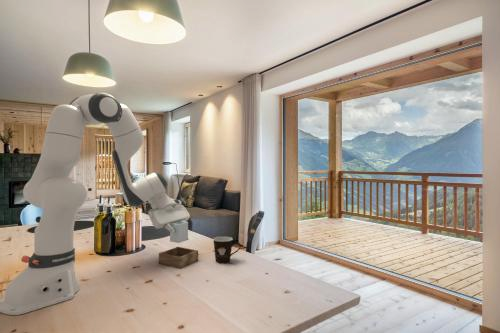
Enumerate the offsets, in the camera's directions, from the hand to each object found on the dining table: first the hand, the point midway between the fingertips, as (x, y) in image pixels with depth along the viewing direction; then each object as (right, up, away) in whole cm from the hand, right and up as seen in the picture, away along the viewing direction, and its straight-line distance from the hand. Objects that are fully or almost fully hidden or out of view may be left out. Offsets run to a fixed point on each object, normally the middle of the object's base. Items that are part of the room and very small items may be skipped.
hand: (180, 231), depth 135 cm
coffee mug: (+20, -14, +2) cm, 24 cm away
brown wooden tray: (-1, -14, 0) cm, 14 cm away
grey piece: (-1, -4, 0) cm, 4 cm away
